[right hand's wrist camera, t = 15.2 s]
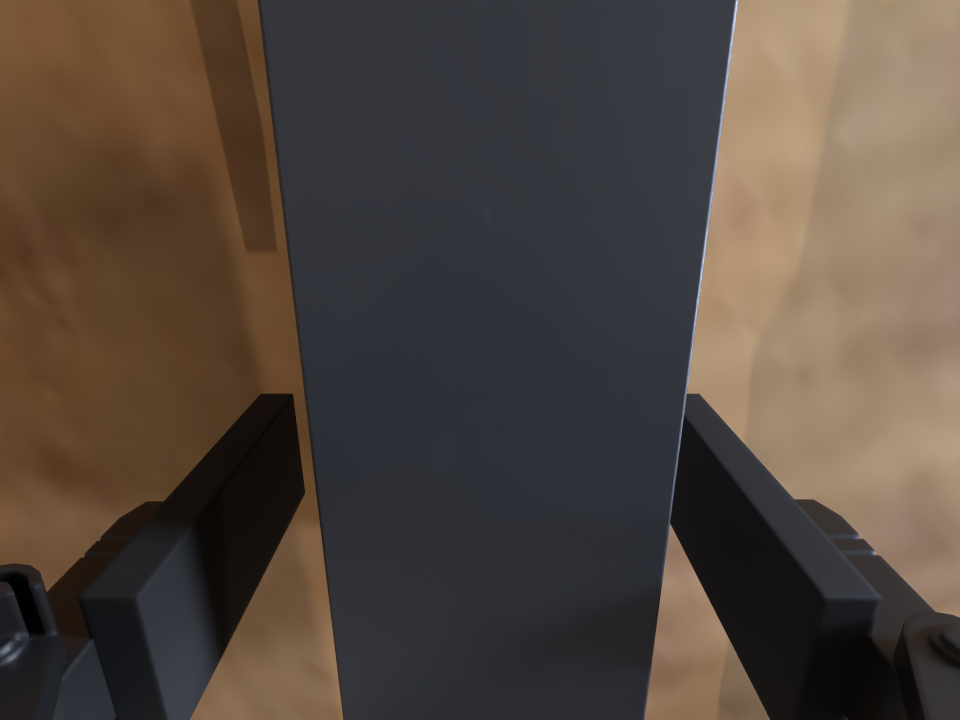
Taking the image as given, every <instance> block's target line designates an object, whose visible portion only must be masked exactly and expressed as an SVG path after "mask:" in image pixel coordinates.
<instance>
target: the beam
mask: <svg viewBox="0 0 960 720" xmlns="http://www.w3.org/2000/svg"><path fill="white" fill-rule="evenodd" d="M737 5H738V0H258V6H259V15H260V23H261V31H262V40H263V48H264V56H265V65H266V73H267V82H268V90H269V98H270V107H271V115H272V124H273V132H274V140H275V149H276V157H277V166H278V174H279V182H280V191H281V199H282V208H283V216H284V224H285V233H286V241H287V250H288V258H289V266H290V275H291V283H292V292H293V300H294V308H295V317H296V325H297V334H298V342H299V350H300V359H301V367H302V376H303V384H304V392H305V401H306V409H307V418H308V426H309V434H310V443H311V451H312V460H313V468H314V476H315V485H316V493H317V502H318V510H319V518H320V527H321V535H322V544H323V552H324V560H325V569H326V577H327V586H328V594H329V602H330V611H331V619H332V628H333V636H334V644H335V653H336V661H337V670H338V678H339V686H340V695H341V703H342V712H343V720H644V717H645V709H646V702H647V694H648V686H649V679H650V671H651V663H652V656H653V648H654V640H655V633H656V625H657V617H658V610H659V602H660V595H661V587H662V579H663V572H664V564H665V556H666V549H667V541H668V533H669V526H670V518H671V510H672V503H673V495H674V487H675V480H676V472H677V464H678V457H679V449H680V441H681V434H682V426H683V418H684V411H685V403H686V395H687V388H688V380H689V372H690V365H691V357H692V350H693V342H694V334H695V327H696V319H697V311H698V304H699V296H700V288H701V281H702V273H703V265H704V258H705V250H706V242H707V235H708V227H709V219H710V212H711V204H712V196H713V189H714V181H715V173H716V166H717V158H718V150H719V143H720V135H721V127H722V120H723V112H724V104H725V97H726V89H727V82H728V74H729V66H730V59H731V51H732V43H733V36H734V28H735V20H736V13H737Z"/></svg>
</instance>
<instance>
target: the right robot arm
mask: <svg viewBox="0 0 960 720" xmlns="http://www.w3.org/2000/svg"><path fill="white" fill-rule="evenodd" d="M304 494H305V489H304V481H303V472H302V464H301V456H300V448H299V440H298V431H297V423H296V415H295V407H294V399H293V394H260V395H259V396H258V398H257V399H256V400H255V401H254V402H253V403H252V404H251V405H250V406H249V408H248V409H247V410H246V411H245V412H244V413H243V414H242V415H241V416H240V418H239V419H238V420H237V421H236V422H235V423H234V424H233V425H232V426H231V428H230V429H229V430H228V431H227V432H226V433H225V434H224V435H223V436H222V438H221V439H220V440H219V441H218V442H217V443H216V444H215V445H214V447H213V448H212V449H211V450H210V451H209V452H208V453H207V454H206V455H205V457H204V458H203V459H202V460H201V461H200V462H199V463H198V464H197V465H196V467H195V468H194V469H193V470H192V471H191V472H190V473H189V474H188V475H187V477H186V478H185V479H184V480H183V481H182V482H181V483H180V484H179V485H178V487H177V488H176V489H175V490H174V491H173V492H172V493H171V494H170V495H169V497H168V498H167V499H166V500H165V501H147V502H145V503H143V504H142V505H140V506H139V507H137V508H135V509H134V510H132V511H130V512H129V513H127V514H125V515H124V516H122V517H120V518H119V519H118V520H117V521H116V522H115V523H114V524H113V525H112V526H111V527H110V528H109V529H108V530H107V531H106V532H105V533H104V534H103V536H102V537H101V540H100V541H97V542H96V543H95V544H94V545H93V546H92V547H91V548H90V549H89V550H88V551H87V552H86V553H85V557H84V558H80V559H79V560H78V561H77V562H76V563H75V564H74V565H73V566H72V567H71V568H70V569H69V570H68V571H67V572H66V573H65V574H64V575H63V576H62V577H61V578H60V579H59V580H58V581H57V582H56V584H55V585H54V586H53V587H52V588H51V589H50V590H49V591H48V592H46V589H45V586H44V583H43V580H42V577H41V574H40V572H39V571H38V570H36V569H35V568H33V567H32V566H30V565H22V564H7V565H1V566H0V720H190V718H191V716H192V714H193V712H194V710H195V708H196V706H197V704H198V702H199V700H200V698H201V696H202V694H203V692H204V690H205V688H206V687H207V685H208V683H209V681H210V679H211V677H212V675H213V673H214V671H215V669H216V667H217V665H218V663H219V661H220V659H221V657H222V655H223V653H224V651H225V649H226V647H227V645H228V643H229V641H230V639H231V637H232V636H233V634H234V632H235V630H236V628H237V626H238V624H239V622H240V620H241V618H242V616H243V614H244V612H245V610H246V608H247V606H248V604H249V602H250V600H251V598H252V596H253V594H254V592H255V590H256V588H257V586H258V584H259V583H260V581H261V579H262V577H263V575H264V573H265V571H266V569H267V567H268V565H269V563H270V561H271V559H272V557H273V555H274V553H275V551H276V549H277V547H278V545H279V543H280V541H281V539H282V537H283V535H284V533H285V532H286V530H287V528H288V526H289V524H290V522H291V520H292V518H293V516H294V514H295V512H296V510H297V508H298V506H299V504H300V502H301V500H302V498H303V496H304ZM670 524H671V526H672V528H673V530H674V532H675V533H676V535H677V537H678V539H679V541H680V543H681V545H682V547H683V549H684V551H685V553H686V555H687V557H688V559H689V561H690V563H691V565H692V567H693V569H694V571H695V573H696V575H697V577H698V579H699V581H700V583H701V584H702V586H703V588H704V590H705V592H706V594H707V596H708V598H709V600H710V602H711V604H712V606H713V608H714V610H715V612H716V614H717V616H718V618H719V620H720V622H721V624H722V626H723V628H724V630H725V632H726V634H727V635H728V637H729V639H730V641H731V643H732V645H733V647H734V649H735V651H736V653H737V655H738V657H739V659H740V661H741V663H742V665H743V667H744V669H745V671H746V673H747V675H748V677H749V679H750V681H751V683H752V685H753V686H754V688H755V690H756V692H757V694H758V696H759V698H760V700H761V702H762V704H763V706H764V708H765V710H766V712H767V714H768V716H769V718H770V720H960V618H959V617H956V616H954V615H950V614H944V613H938V612H935V611H934V610H933V609H932V608H931V607H930V606H929V605H928V604H927V603H926V602H925V601H924V600H923V599H922V598H921V597H920V596H919V595H918V594H917V593H916V592H915V591H914V590H913V589H912V588H911V587H910V586H909V585H908V584H907V583H906V582H905V581H904V580H903V579H902V578H901V577H900V576H899V575H898V574H897V573H896V571H895V570H894V569H893V568H892V567H891V566H890V565H889V564H888V563H887V562H886V561H885V560H884V559H883V558H882V557H881V556H877V555H876V551H875V550H874V549H873V548H872V547H871V546H870V545H869V544H868V543H867V542H866V541H865V540H864V539H860V535H859V534H858V533H857V532H856V531H855V530H854V529H853V528H852V527H851V526H850V525H849V524H848V523H847V522H846V521H845V520H844V519H843V518H842V517H841V516H840V515H838V514H837V513H835V512H833V511H832V510H830V509H828V508H827V507H825V506H823V505H822V504H820V503H818V502H817V501H815V500H794V499H793V498H792V497H791V495H790V494H789V493H788V492H787V491H786V490H785V489H784V488H783V487H782V485H781V484H780V483H779V482H778V481H777V480H776V479H775V478H774V477H773V475H772V474H771V473H770V472H769V471H768V470H767V469H766V468H765V467H764V465H763V464H762V463H761V462H760V461H759V460H758V459H757V458H756V457H755V455H754V454H753V453H752V452H751V451H750V450H749V449H748V448H747V446H746V445H745V444H744V443H743V442H742V441H741V440H740V439H739V438H738V436H737V435H736V434H735V433H734V432H733V431H732V430H731V429H730V428H729V426H728V425H727V424H726V423H725V422H724V421H723V420H722V419H721V418H720V416H719V415H718V414H717V413H716V412H715V411H714V410H713V409H712V408H711V406H710V405H709V404H708V403H707V402H706V401H705V400H704V399H703V398H702V396H701V395H700V394H687V395H686V403H685V411H684V418H683V426H682V434H681V441H680V449H679V457H678V464H677V472H676V480H675V487H674V495H673V503H672V510H671V518H670ZM846 717H847V718H846Z"/></svg>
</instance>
